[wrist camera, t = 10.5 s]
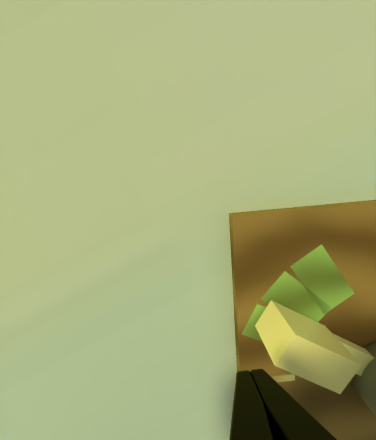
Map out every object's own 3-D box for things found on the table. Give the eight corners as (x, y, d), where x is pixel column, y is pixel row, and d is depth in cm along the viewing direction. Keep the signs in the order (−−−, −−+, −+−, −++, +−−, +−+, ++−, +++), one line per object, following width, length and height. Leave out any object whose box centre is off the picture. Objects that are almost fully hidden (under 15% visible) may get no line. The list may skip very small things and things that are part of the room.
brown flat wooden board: (447, 419, 24) (462, 432, 23) (235, 443, 24) (238, 459, 23) (485, 189, 20) (506, 191, 19) (222, 214, 19) (225, 217, 18)
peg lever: (435, 354, 21) (496, 399, 17) (392, 409, 22) (440, 463, 18) (283, 279, 19) (311, 310, 15) (242, 343, 20) (259, 388, 16)
